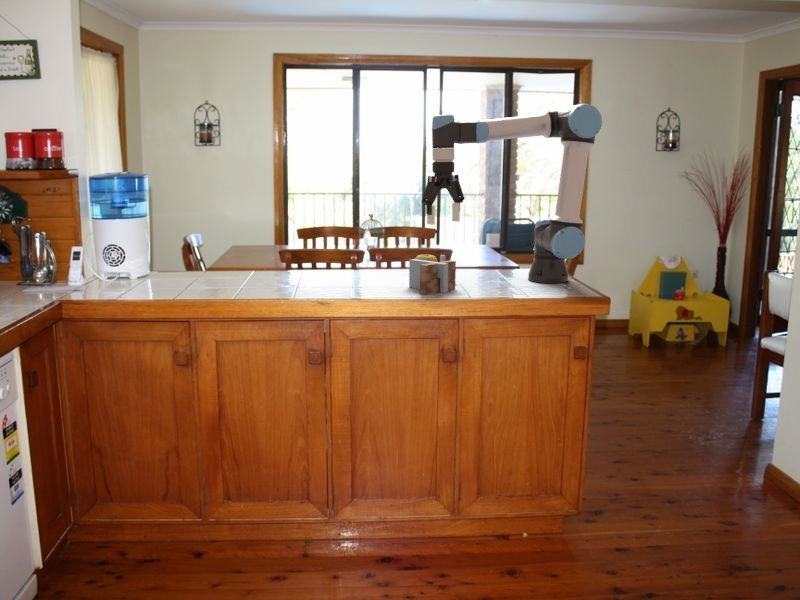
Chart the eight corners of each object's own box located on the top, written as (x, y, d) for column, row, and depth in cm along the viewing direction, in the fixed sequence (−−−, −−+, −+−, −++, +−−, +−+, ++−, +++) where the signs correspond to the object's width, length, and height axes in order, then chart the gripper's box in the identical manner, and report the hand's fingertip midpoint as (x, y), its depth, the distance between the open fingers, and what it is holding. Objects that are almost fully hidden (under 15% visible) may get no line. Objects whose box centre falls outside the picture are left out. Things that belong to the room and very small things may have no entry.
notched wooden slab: (449, 288, 270) (450, 260, 269) (455, 289, 269) (455, 261, 267) (419, 293, 259) (420, 264, 257) (424, 294, 257) (425, 265, 256)
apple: (438, 275, 299) (438, 255, 298) (413, 275, 299) (413, 254, 298) (437, 271, 309) (437, 252, 307) (413, 271, 309) (413, 251, 308)
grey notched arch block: (409, 287, 272) (409, 259, 270) (413, 286, 273) (414, 259, 271) (443, 293, 261) (443, 264, 259) (447, 292, 262) (448, 263, 261)
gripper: (457, 160, 272) (457, 219, 276) (410, 161, 255) (411, 225, 259) (474, 160, 267) (474, 220, 271) (427, 161, 249) (428, 226, 254)
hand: (443, 222), depth 265 cm, fingers open, 13 cm apart
